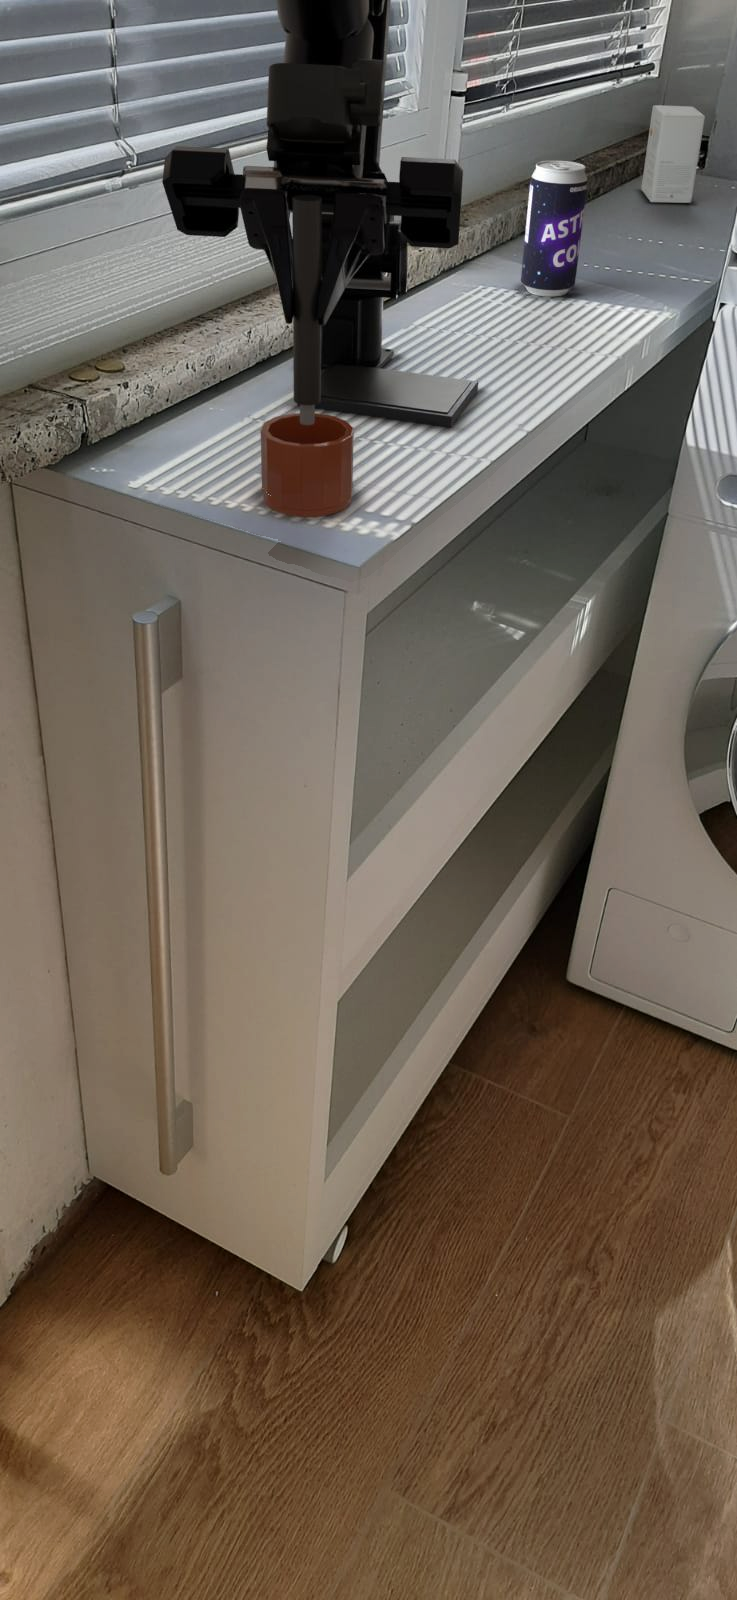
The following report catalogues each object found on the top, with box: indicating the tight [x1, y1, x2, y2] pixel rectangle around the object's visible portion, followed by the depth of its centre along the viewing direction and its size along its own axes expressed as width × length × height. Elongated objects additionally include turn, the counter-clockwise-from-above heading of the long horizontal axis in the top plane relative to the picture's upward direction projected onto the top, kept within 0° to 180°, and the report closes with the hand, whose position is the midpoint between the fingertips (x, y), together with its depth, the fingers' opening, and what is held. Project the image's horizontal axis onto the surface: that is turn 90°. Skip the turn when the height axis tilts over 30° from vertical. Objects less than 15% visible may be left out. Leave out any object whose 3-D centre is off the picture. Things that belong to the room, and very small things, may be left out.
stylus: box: [291, 195, 322, 425], centre depth 81 cm, size 2×2×14 cm
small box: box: [640, 104, 706, 204], centre depth 168 cm, size 8×6×10 cm
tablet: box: [297, 364, 479, 428], centre depth 104 cm, size 9×13×1 cm
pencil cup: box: [260, 412, 355, 518], centre depth 87 cm, size 6×6×5 cm
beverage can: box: [520, 160, 589, 298], centre depth 129 cm, size 6×6×12 cm
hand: (304, 321), depth 80 cm, fingers closed on stylus, 2 cm apart
